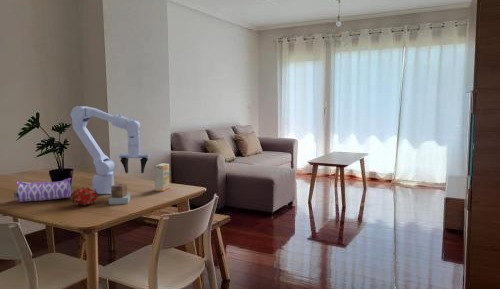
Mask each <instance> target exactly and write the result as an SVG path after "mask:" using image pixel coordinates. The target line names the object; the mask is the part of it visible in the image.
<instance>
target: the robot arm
mask: <svg viewBox="0 0 500 289" xmlns="http://www.w3.org/2000/svg"><path fill="white" fill-rule="evenodd" d="M69 116H70V117H71V121H72V122H71V123H72V129H73V131H74V132H75V134H76V135H77V137H78V138H79V140H80V141H81V142H82V144H83V146H84V147H85V149H86V150H87V152H88V153H89V155H90V157H91V158H92V159H93V165H94V168H95V172H96V173H97V174H94V175H93V176H92V179H91V180H92V181H91V182H92V190H94V191H96V192H97V193H98V194H99V195H111V186H113V185H115V178H114V177H115V175H114V174H115V173H114V170H115V169H116V163H115V161H113V160H112V159H110V158H109V156H108V155H106V154H105V153H104V152H103V150H102V149H101V147H100V146H99V144H98V143H97V142H96V140H95V139H94V137H93V135H92V134H91V132H90V131H89V129H88V128H87V126H88V123H89V121H90V119H91V118H98V119H101V120H104V121H107V122H110V123H111V125H112V126H113V127H115V128H119V129H122V130H125V131H126V132H127V153H119V154H118V159H120V160H119V161H120V162H121V164H122V166H123V170H124V172H125V174H129V159H139V160H140V173H141V174H144V172H145V168H146V164H147V162H148V160H149V159H150V155H151V154H150V153H141V136H140V133H141V132H140V130H141V127H142V125H141V123H140V121H138V120H137V119H134V120H133V119H132V118H130V117H125V116H123V114H121V113H119V114H118V113H117V114H115V115H112V114H110V113H107V112H105V111H102V110H101V109H98V108H96V107H91V106H87V105H82V106H81V105H76V106H74V107H73V108H72V110H71V112H70V115H69Z"/></svg>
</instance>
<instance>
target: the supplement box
mask: <svg viewBox="0 0 500 289" xmlns="http://www.w3.org/2000/svg"><path fill="white" fill-rule="evenodd" d="M170 184H171V183H170V163H159V164H157V165H156V164H155V165H154V191H155V192H165V191H166V190H168V189H170V188H171V187H170Z"/></svg>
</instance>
